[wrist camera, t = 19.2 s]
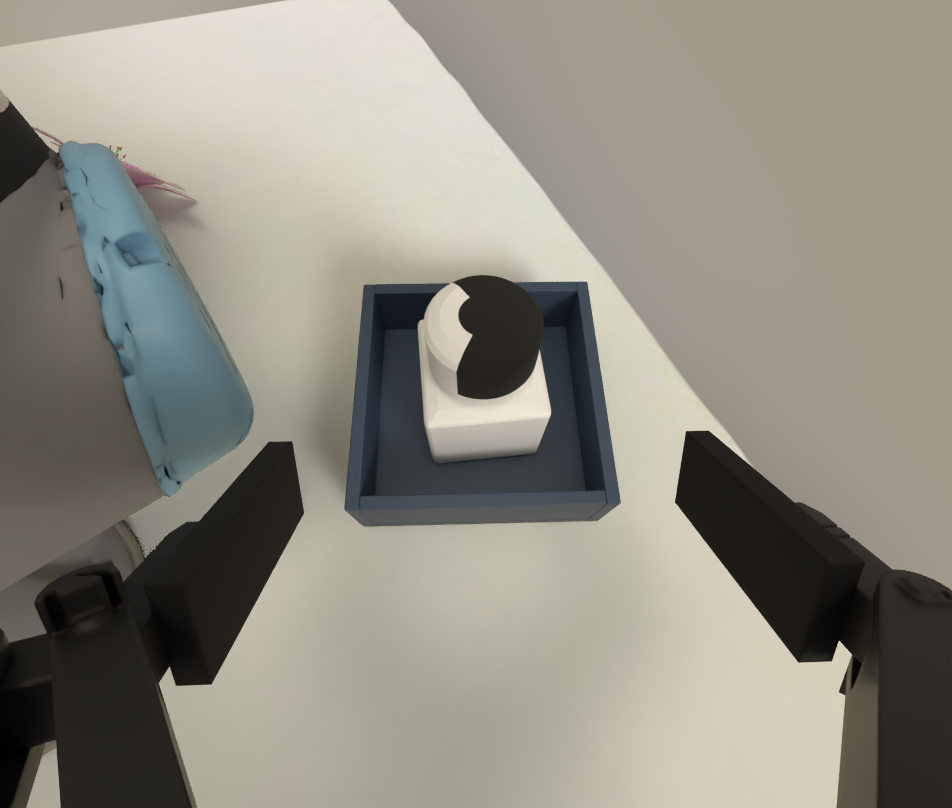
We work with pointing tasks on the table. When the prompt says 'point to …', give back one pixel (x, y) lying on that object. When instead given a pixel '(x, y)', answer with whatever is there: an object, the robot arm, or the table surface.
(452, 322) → the medicine bottle
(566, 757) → the table surface
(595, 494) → the tote
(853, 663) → the robot arm
